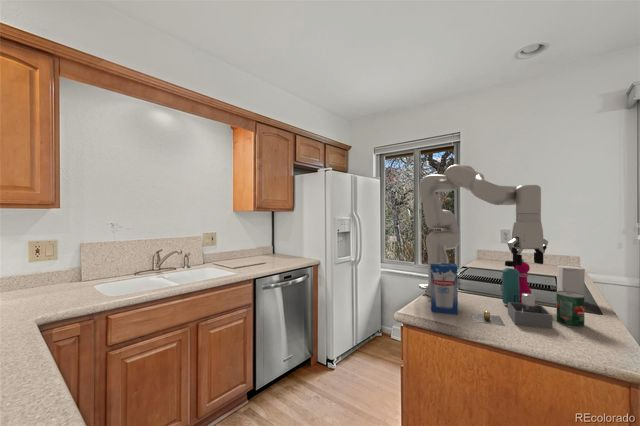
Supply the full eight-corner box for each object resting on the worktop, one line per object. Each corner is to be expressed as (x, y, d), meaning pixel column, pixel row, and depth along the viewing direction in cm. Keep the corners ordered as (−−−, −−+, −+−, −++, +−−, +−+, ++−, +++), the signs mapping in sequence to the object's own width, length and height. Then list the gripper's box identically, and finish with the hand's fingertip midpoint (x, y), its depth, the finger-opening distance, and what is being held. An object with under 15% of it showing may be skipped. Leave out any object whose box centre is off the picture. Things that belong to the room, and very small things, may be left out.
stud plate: (473, 324, 106) (473, 314, 106) (470, 314, 116) (470, 305, 116) (505, 328, 102) (505, 317, 102) (499, 318, 112) (499, 308, 112)
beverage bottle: (514, 310, 119) (514, 263, 119) (498, 306, 125) (498, 260, 125) (523, 308, 122) (523, 261, 122) (507, 303, 128) (507, 259, 128)
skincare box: (561, 301, 130) (561, 267, 129) (556, 297, 136) (556, 264, 136) (585, 303, 127) (585, 268, 126) (578, 299, 133) (578, 266, 132)
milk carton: (431, 313, 117) (430, 265, 117) (430, 308, 123) (430, 262, 123) (458, 316, 114) (457, 266, 114) (456, 311, 120) (456, 263, 119)
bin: (514, 326, 103) (514, 311, 103) (507, 316, 114) (507, 302, 114) (552, 331, 99) (552, 315, 99) (541, 319, 109) (541, 305, 109)
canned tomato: (587, 329, 100) (587, 298, 100) (558, 325, 104) (558, 295, 104) (581, 321, 107) (581, 292, 107) (554, 317, 111) (554, 289, 111)
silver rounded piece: (516, 319, 108) (516, 293, 108) (527, 318, 110) (527, 292, 109) (529, 325, 103) (529, 297, 103) (541, 323, 104) (541, 296, 104)
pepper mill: (525, 299, 133) (525, 257, 133) (535, 305, 126) (535, 259, 126) (508, 299, 134) (508, 257, 134) (518, 304, 127) (517, 259, 126)
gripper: (537, 217, 112) (537, 261, 112) (500, 218, 108) (500, 263, 108) (557, 218, 104) (556, 265, 105) (518, 219, 100) (517, 267, 101)
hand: (528, 264), depth 106 cm, fingers open, 9 cm apart
